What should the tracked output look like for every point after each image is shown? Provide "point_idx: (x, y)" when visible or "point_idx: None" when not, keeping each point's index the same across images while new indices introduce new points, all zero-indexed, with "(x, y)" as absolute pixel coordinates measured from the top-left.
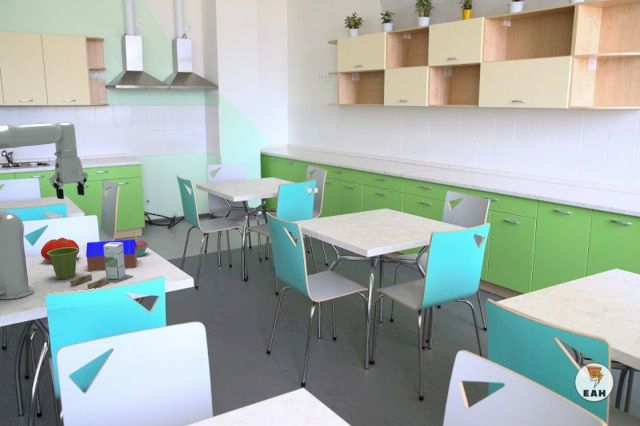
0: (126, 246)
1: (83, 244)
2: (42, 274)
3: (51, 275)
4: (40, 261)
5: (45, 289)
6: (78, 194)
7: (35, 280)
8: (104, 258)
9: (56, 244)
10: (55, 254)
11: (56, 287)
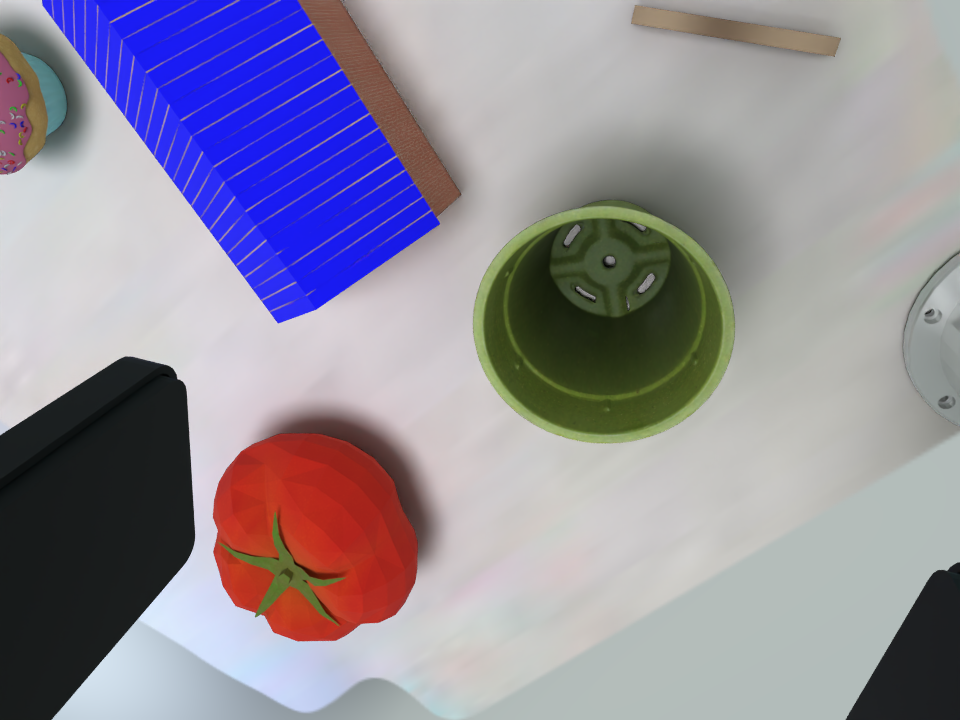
0: None
1: None
2: None
3: None
4: None
5: (906, 201)
6: (191, 533)
7: (721, 396)
8: (362, 97)
9: (347, 556)
10: (578, 405)
11: (851, 153)
